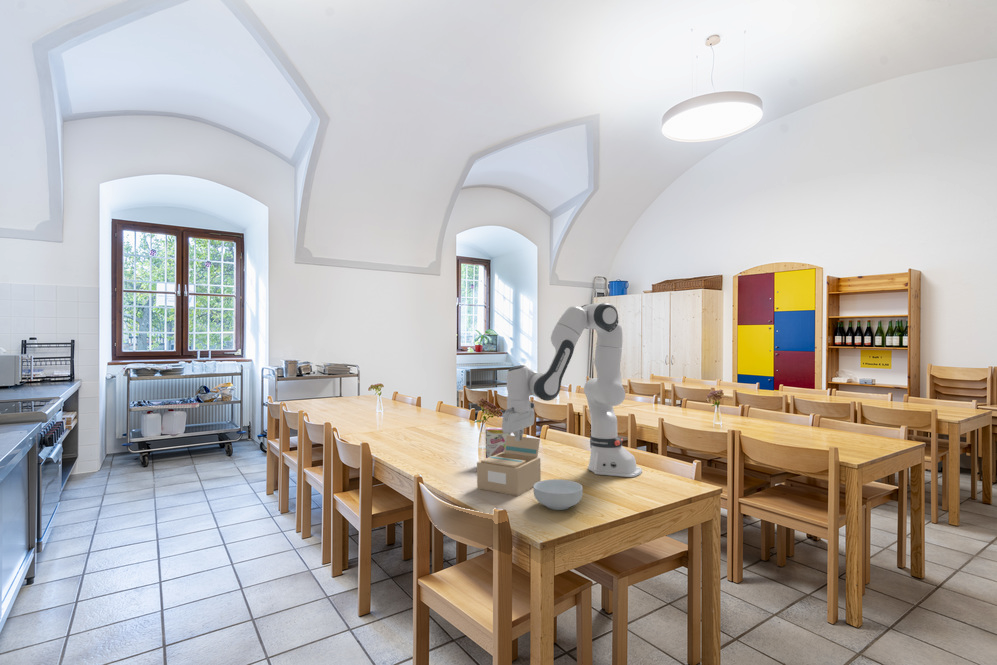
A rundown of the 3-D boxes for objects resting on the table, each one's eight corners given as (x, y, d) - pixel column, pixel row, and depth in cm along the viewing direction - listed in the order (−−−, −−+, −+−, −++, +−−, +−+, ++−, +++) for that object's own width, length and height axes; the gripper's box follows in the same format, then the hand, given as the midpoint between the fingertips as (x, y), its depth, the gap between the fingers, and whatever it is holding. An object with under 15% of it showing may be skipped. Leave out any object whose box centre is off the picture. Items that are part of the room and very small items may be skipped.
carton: (540, 483, 198) (540, 457, 198) (517, 496, 183) (517, 468, 183) (501, 476, 208) (501, 452, 208) (477, 488, 192) (476, 462, 192)
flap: (481, 461, 192) (481, 460, 192) (492, 457, 199) (492, 455, 199) (515, 467, 184) (515, 465, 184) (525, 462, 191) (525, 460, 191)
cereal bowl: (592, 505, 173) (592, 484, 173) (564, 519, 160) (564, 497, 160) (552, 494, 184) (551, 475, 184) (523, 507, 172) (523, 486, 171)
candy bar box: (485, 465, 224) (485, 429, 224) (486, 463, 229) (486, 427, 229) (510, 466, 223) (510, 429, 223) (511, 463, 228) (510, 427, 228)
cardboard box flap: (536, 457, 198) (537, 457, 199) (539, 438, 200) (540, 439, 201) (503, 452, 206) (504, 452, 207) (506, 435, 208) (507, 435, 209)
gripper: (511, 410, 191) (512, 446, 191) (536, 403, 208) (537, 436, 208) (497, 409, 194) (498, 445, 194) (523, 402, 212) (524, 434, 212)
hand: (518, 440), depth 202 cm, fingers closed
